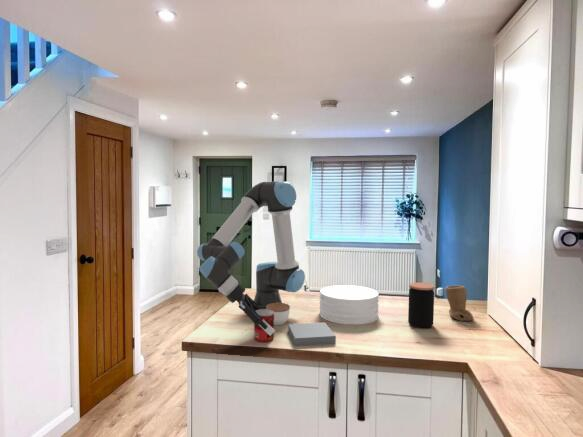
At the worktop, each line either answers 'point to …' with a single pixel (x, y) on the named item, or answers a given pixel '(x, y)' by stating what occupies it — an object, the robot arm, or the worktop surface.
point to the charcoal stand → (311, 334)
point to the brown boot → (458, 302)
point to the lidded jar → (279, 312)
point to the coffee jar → (421, 305)
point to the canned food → (258, 331)
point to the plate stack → (349, 304)
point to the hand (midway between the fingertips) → (272, 329)
